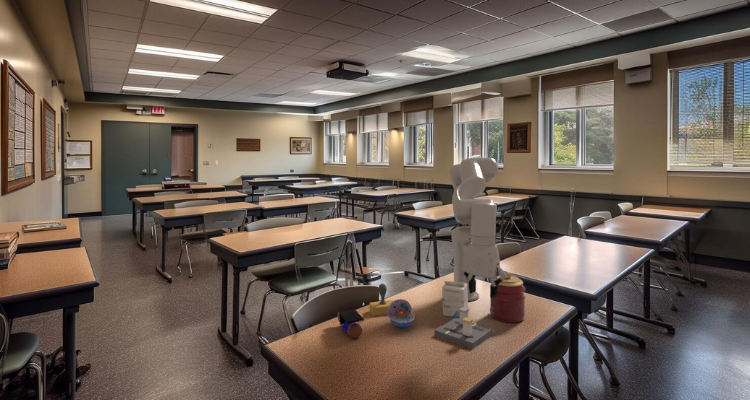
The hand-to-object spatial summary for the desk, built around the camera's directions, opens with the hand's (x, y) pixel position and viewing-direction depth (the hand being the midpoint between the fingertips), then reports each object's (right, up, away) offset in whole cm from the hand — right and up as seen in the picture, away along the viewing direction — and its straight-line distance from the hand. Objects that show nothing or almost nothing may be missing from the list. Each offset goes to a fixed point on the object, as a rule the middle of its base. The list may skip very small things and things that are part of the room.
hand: (482, 294), depth 125 cm
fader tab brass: (-4, -15, +5) cm, 16 cm away
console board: (-4, -17, +10) cm, 20 cm away
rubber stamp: (-32, -15, +33) cm, 48 cm away
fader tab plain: (-3, -14, +14) cm, 20 cm away
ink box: (-3, -15, +30) cm, 34 cm away
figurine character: (-44, -17, +15) cm, 50 cm away
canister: (+17, -15, +25) cm, 34 cm away
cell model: (-25, -17, +19) cm, 36 cm away
